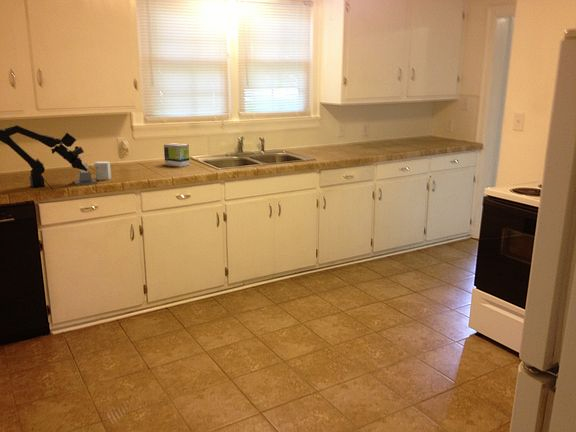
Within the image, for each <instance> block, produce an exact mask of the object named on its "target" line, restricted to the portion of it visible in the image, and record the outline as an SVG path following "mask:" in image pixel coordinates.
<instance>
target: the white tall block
mask: <svg viewBox="0 0 576 432" xmlns="http://www.w3.org/2000/svg"><path fill="white" fill-rule="evenodd" d="M82 164H83V165H84V166H85V167H86V168H87V171H84V170H81V169H79V172H81V173H88V171H89V167H88V163H87V162H82Z"/></svg>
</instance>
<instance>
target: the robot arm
mask: <svg viewBox="0 0 576 432" xmlns="http://www.w3.org/2000/svg"><path fill="white" fill-rule="evenodd" d="M16 134H20V135H23V136H25V137H28V138H31V139H32V140H35V141H38V142H40V143H41V144H44V145H45V146H46V147H49V148H51V149H50V150H51V154H53V155H54V153H57V154H58V155H59V156H60V157H62V158H63V159H64V160H66V161H67V162H68V163H69V164H70V166H71V167H72V168H73V169H77V170H80V169H81V170H84V171H87V168H86V167H85V166H84V165H83V164H82V163H83V161H82V158H81V157H80V156H79V155H80V154H84V153H85V152H84V149H83V148H82V146H77V145H76V146H74V149H73V150H71V149H69V148H71V147H72V146H73V145H74V144H75V142H76V141H77V138H75V137H74V135H71V134H70V133H68V132H65V134H64V135H63V136H62V137H61V138H55V137H54V136H51V135H48V134H47V135H46V134H41V133H39V132H36V131H33V130H30V129H28V128H26V127H24V126H20V125H18V124H15V125H12V126H10V127H6V128H0V142H2V143H3V144H5V145H7V146H9V148H11V149H12V150H13V151H14V153H16V154H17V155H19V156H20V158H22V159H23V160H24V161H25V162H26V163H27V164H28V165H29V167H30V168H31V170H30V171H29V174H30V176H29V181H30V182H29V183H30V185H29V187H31V188H34V189H36V188H37V189H38V188H42V187H46V185H45V178H44V176H43V174H44V173H45V170H46V169H45V165H44V162H42V161H40V159H39V158H38V157H37V158H36V159H35V158H34V157H32V156H31V155H30V154H29V153H28V152H26V150H25V149H24V148H23V147H21V146H20V145H19V144H18V143H17V142H16V141H15V140H13V138H12V137H11V136H14V135H16Z"/></svg>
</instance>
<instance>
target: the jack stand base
mask: <svg viewBox="0 0 576 432" xmlns="http://www.w3.org/2000/svg"><path fill="white" fill-rule="evenodd" d="M73 182H74V185H75V186H84V185H96V184H98V181H97V180H96V177H92V172H91V171H90V170H88V173H81V171H78V178H74V179H73Z"/></svg>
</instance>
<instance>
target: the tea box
mask: <svg viewBox="0 0 576 432" xmlns="http://www.w3.org/2000/svg"><path fill="white" fill-rule="evenodd" d="M163 152H164V153H163V155H164V165H165V166H173V167H178V168H180V167H187V166H190V147H189V144H186V143H176V142H173V143H166V144H163Z"/></svg>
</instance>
